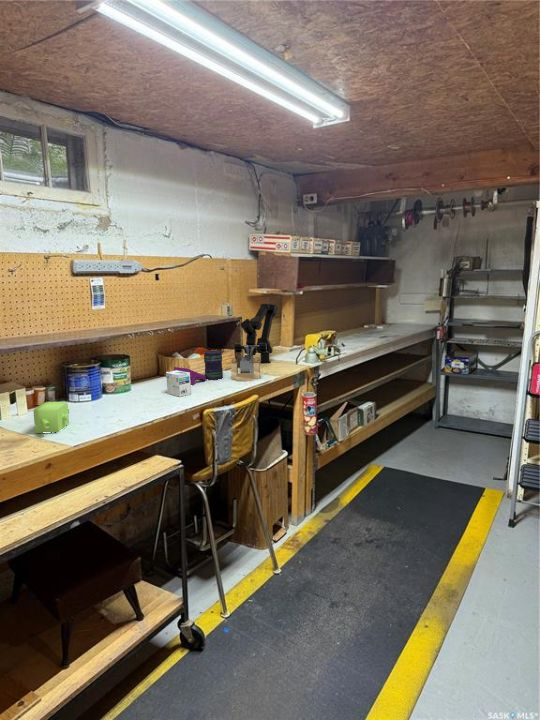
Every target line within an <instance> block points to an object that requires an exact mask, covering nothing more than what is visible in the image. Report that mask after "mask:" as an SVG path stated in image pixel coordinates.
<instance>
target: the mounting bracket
mask: <svg viewBox="0 0 540 720" xmlns="http://www.w3.org/2000/svg"><path fill="white" fill-rule="evenodd" d="M176 370H178V371H183V372H189V373H190V383H191V385H192V386H193V385H195V382H196V380H198V379H200V380H199V381H207V380H206V376H205V374H202V373H199V372H197V371H195V370H193V369H191V368H186V367H178V366H174V367H173V370H172V371H176Z"/></svg>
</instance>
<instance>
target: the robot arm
mask: <svg viewBox="0 0 540 720" xmlns="http://www.w3.org/2000/svg"><path fill="white" fill-rule="evenodd" d="M278 309H279V308H278V305H277V304H276V303H261V304H260V306H259V309H258V310H257V312H256V314H255V316H254V317H252V318H250V319H249V318H246V319H245V320H243V321H242V322H241V323H240V327H241V329H242V330H243V331H244V332H243V333H245V334H246V339H245V340H246V341H245V344H244V345H242V343H234V344H233V348H234V352H235V353H237V354H238V353H242V352H244V354H246V355H253V356H256V354H260V360H259V362H260V364H271V360H270V359H271V358H270V354H272V353H273V346H271V341H270V334H271V327H272V325H273V324H272V323H273V319H274V317H275V316H277V312H278ZM262 321H264V322H263V323H262ZM262 325H263V326H262ZM261 328H262V332H261V336H260V337H258V338H257V336H258V334H257V331H259V330H261Z"/></svg>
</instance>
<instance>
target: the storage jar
mask: <svg viewBox="0 0 540 720" xmlns="http://www.w3.org/2000/svg"><path fill="white" fill-rule="evenodd" d="M203 362H204V375H205V376H206V379H208V380H207V381H210V380H213V381H219V380H218V379H221V380H223V379H224V376H223V375H224V372H223V371H224V369H223V351H222V350H219V349H213V350H212V349H211V350H205V351H203ZM222 378H223V379H222Z"/></svg>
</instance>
